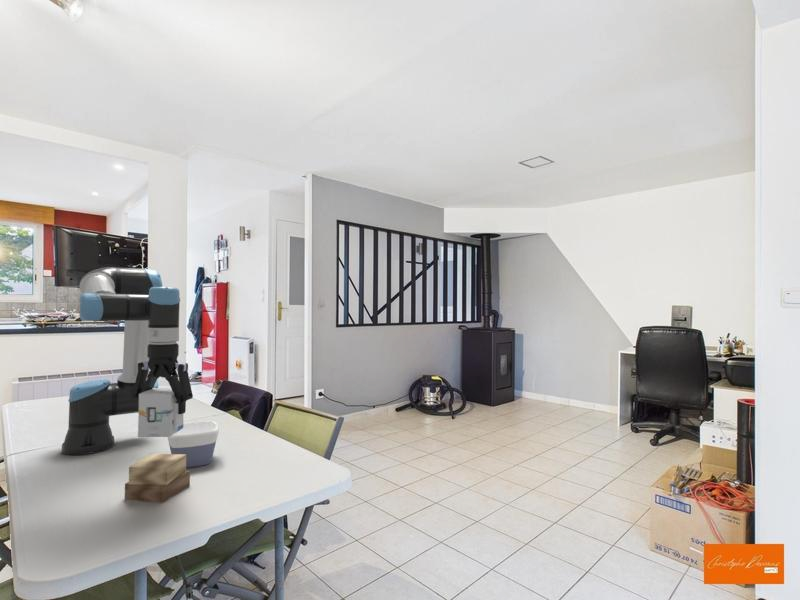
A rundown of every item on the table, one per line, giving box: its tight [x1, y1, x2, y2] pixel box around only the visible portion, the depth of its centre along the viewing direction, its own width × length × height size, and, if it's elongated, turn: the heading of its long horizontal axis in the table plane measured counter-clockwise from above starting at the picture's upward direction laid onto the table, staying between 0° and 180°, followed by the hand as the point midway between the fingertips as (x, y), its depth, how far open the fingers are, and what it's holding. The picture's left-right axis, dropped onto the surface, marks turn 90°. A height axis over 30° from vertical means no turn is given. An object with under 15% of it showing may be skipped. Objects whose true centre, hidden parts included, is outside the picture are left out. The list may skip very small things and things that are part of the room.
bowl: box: [167, 420, 220, 469], centre depth 139 cm, size 15×15×11 cm
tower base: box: [124, 470, 191, 504], centre depth 116 cm, size 11×11×4 cm
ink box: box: [137, 387, 183, 438], centre depth 117 cm, size 8×8×12 cm
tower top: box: [128, 453, 187, 485], centre depth 116 cm, size 10×10×4 cm
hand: (161, 424), depth 117 cm, fingers closed on ink box, 9 cm apart
